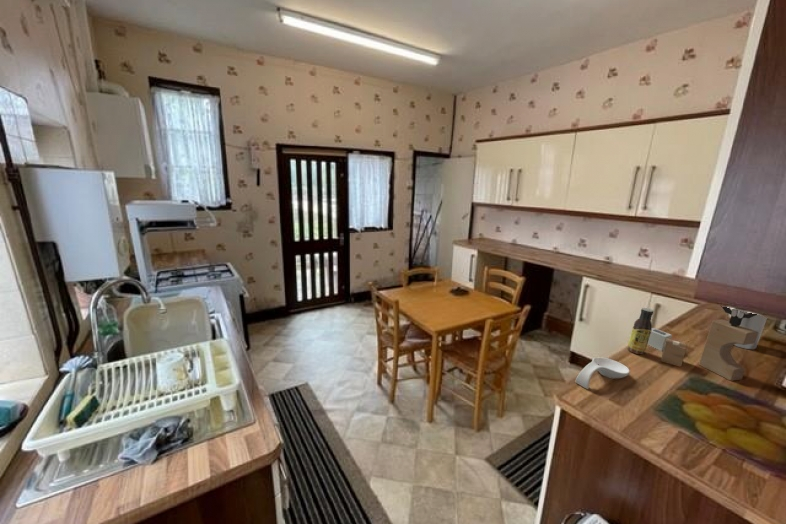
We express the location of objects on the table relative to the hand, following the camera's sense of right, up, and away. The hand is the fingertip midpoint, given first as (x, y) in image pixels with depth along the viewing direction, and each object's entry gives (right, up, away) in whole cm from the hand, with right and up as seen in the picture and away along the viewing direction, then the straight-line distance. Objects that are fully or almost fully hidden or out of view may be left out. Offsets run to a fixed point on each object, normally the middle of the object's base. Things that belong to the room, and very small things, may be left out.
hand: (734, 325), depth 117 cm
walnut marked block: (-13, -17, +13) cm, 25 cm away
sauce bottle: (-22, -15, +19) cm, 33 cm away
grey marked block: (-10, -14, +24) cm, 29 cm away
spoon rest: (-50, -20, +1) cm, 54 cm away
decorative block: (0, -20, +5) cm, 20 cm away
